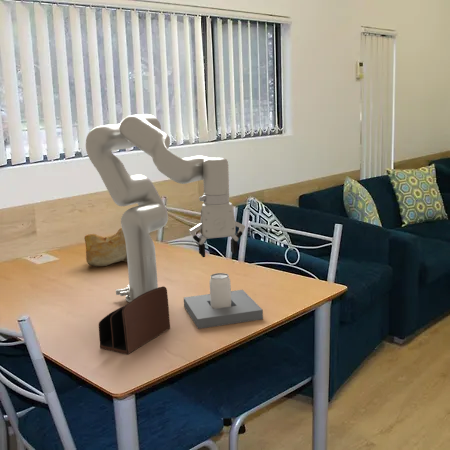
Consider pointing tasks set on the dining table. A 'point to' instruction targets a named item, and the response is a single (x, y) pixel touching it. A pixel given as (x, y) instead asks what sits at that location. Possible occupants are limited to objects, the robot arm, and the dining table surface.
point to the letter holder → (135, 322)
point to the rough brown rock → (105, 249)
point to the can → (220, 290)
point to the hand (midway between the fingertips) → (218, 254)
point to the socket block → (222, 310)
